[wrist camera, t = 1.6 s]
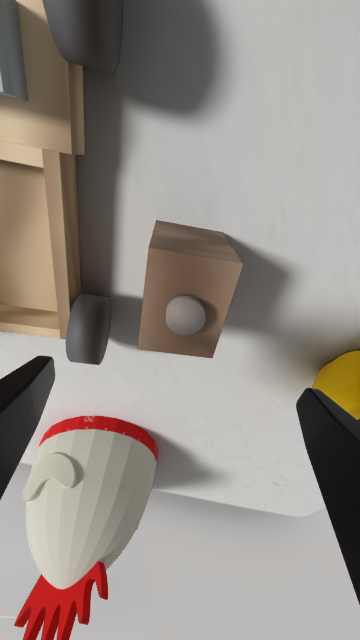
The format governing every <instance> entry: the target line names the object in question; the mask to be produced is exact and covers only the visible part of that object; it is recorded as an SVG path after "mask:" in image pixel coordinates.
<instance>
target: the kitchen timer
mask: <svg viewBox="0 0 360 640" xmlns="http://www.w3.org/2000/svg"><path fill="white" fill-rule="evenodd" d="M157 452H158V449H157V447H156V444H155V441H154V440H153V439H152V438H151V436H150V435H149V434H148V433H147V432H146V431H144V430H142V429H141V428H139V427H137V426H136V425H134V424H132V423H129V422H126V421H123V420H120V419H117V418H110V417H104V416H80V417H75V418H70V419H66V420H63V421H61V422H59V423H57V424H55V425H53V426H52V427H51V428H50V429H49V430H48V431H47V432H46V433H45V434H44V436H43V438H42V440H41V442H40V445H39V447H38V449H37V452H36V455H35V459H34V463H33V466H32V470H31V475H30V477H29V479H28V481H27V483H26V486H25V488H24V492H23V499H24V500H25V501H27V503H26V528H27V536H28V541H29V545H30V549H31V553H32V556H33V558H34V561H35V563H36V565H37V567H38V569H39V570H40V572H41V576H40V578H39V579H38V581H37V583H36V585H35V586H34V588H33V590H32V592H31V593H30V595H29V597H28V599H27V600H26V602H25V604H24V606H23V608H22V610H21V611H20V613H19V615H18V617H17V620H16V622H15V624H14V625H15V626H17V627H24V625H25V624H26V622H27V621H28V624H27V627H26V631H25V634H24V638H23V640H36V638H37V636H38V633H39V631H40V629H41V626H42V624H43V621H44V625H43V630H42V637H41V640H54V636H55V633H56V630H57V627H58V632H57V640H69V638H70V635H71V631H72V628H73V624H74V621H75V617H76V614H78V621H79V623H81V624H86V625H88V623H89V618H90V599H91V590H92V586H93V583H94V582H96V585H97V589H98V594H99V597H100V598H103V599H106V600H107V599H108V583H107V575H106V570H107V568H109V566H111V564H112V563H113V562H114V561H115V560H116V559H117V558H118V556H119V555H120V554H121V553H122V551H123V550H124V548H125V547H126V546H127V544H128V543H129V541H130V539H131V537H132V536H133V534H134V533H135V531H136V530H137V528H138V525H139V523H140V520H141V518H142V516H143V513H144V510H145V507H146V504H147V501H148V499H149V495H150V493H151V489H152V486H153V482H154V478H155V472H156V466H157ZM28 619H29V620H28Z"/></svg>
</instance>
